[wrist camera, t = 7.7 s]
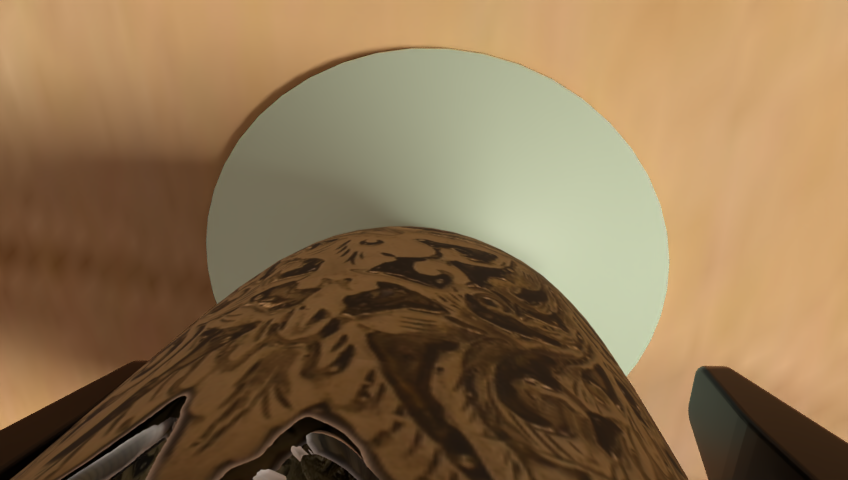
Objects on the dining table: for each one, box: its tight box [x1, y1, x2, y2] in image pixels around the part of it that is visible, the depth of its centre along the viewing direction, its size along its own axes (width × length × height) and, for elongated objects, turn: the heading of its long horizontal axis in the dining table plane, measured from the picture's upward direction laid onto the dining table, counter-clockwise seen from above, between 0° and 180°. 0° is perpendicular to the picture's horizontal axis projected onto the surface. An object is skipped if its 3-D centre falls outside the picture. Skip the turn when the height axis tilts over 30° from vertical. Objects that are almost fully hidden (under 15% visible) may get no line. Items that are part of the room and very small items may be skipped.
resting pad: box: [206, 48, 669, 377], centre depth 11 cm, size 10×10×1 cm
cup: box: [10, 226, 688, 480], centre depth 7 cm, size 8×7×8 cm
